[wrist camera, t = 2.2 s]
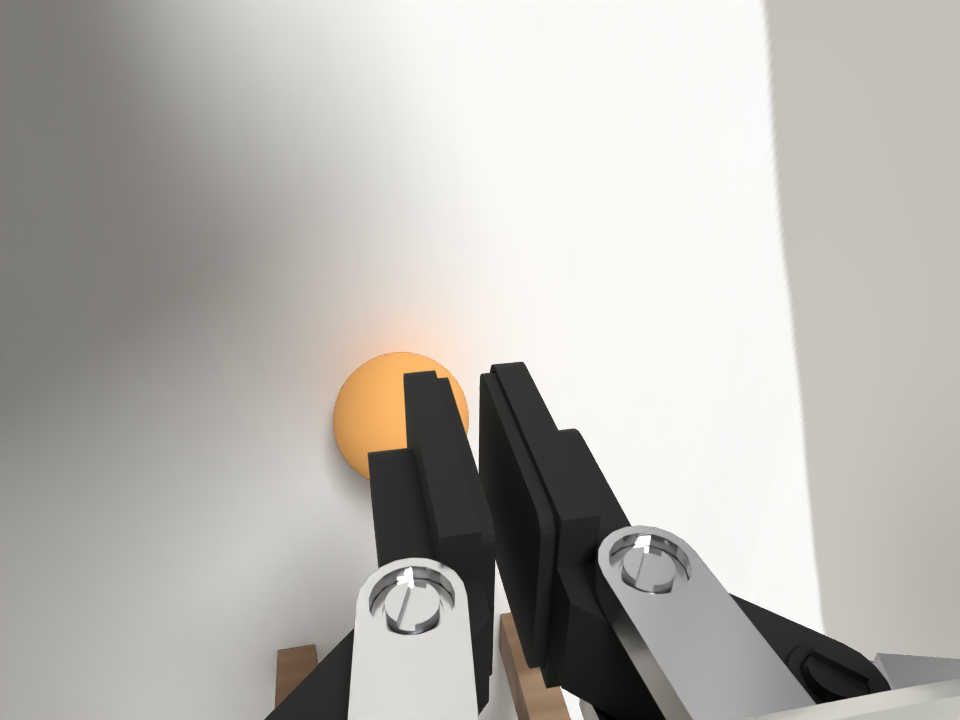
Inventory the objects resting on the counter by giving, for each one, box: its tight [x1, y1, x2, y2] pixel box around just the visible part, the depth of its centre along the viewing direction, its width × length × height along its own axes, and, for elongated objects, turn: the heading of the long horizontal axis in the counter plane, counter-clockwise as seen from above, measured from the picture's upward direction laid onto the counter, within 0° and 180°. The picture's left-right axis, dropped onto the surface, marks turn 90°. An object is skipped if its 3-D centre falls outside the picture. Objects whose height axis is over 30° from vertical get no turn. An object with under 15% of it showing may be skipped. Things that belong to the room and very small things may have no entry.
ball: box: [333, 352, 469, 480], centre depth 29 cm, size 6×6×6 cm
